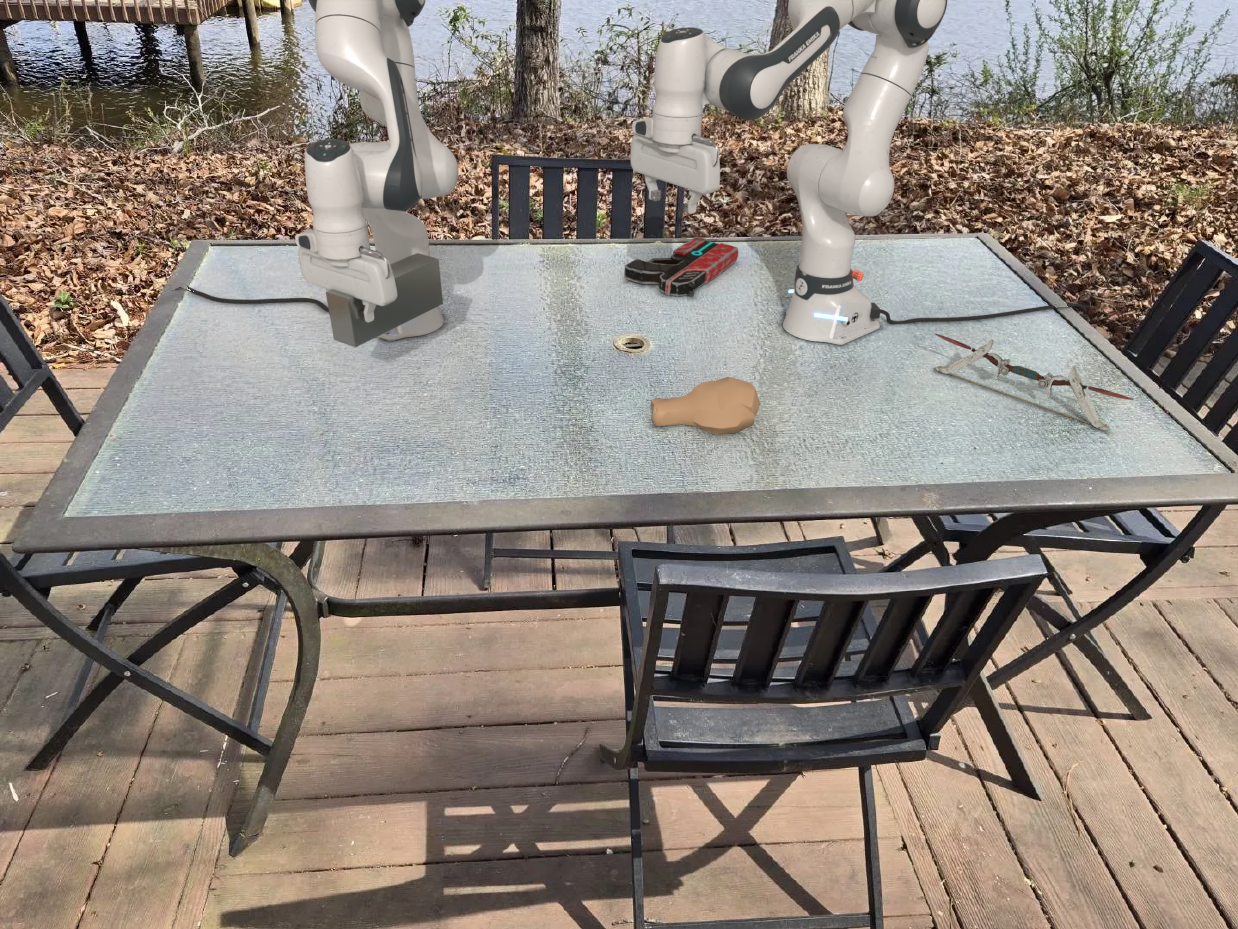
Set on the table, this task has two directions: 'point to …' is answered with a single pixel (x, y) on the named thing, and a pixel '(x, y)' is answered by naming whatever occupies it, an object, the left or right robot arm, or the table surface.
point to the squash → (711, 407)
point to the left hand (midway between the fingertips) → (354, 315)
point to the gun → (684, 267)
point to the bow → (1043, 381)
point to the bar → (413, 299)
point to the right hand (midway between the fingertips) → (672, 206)
